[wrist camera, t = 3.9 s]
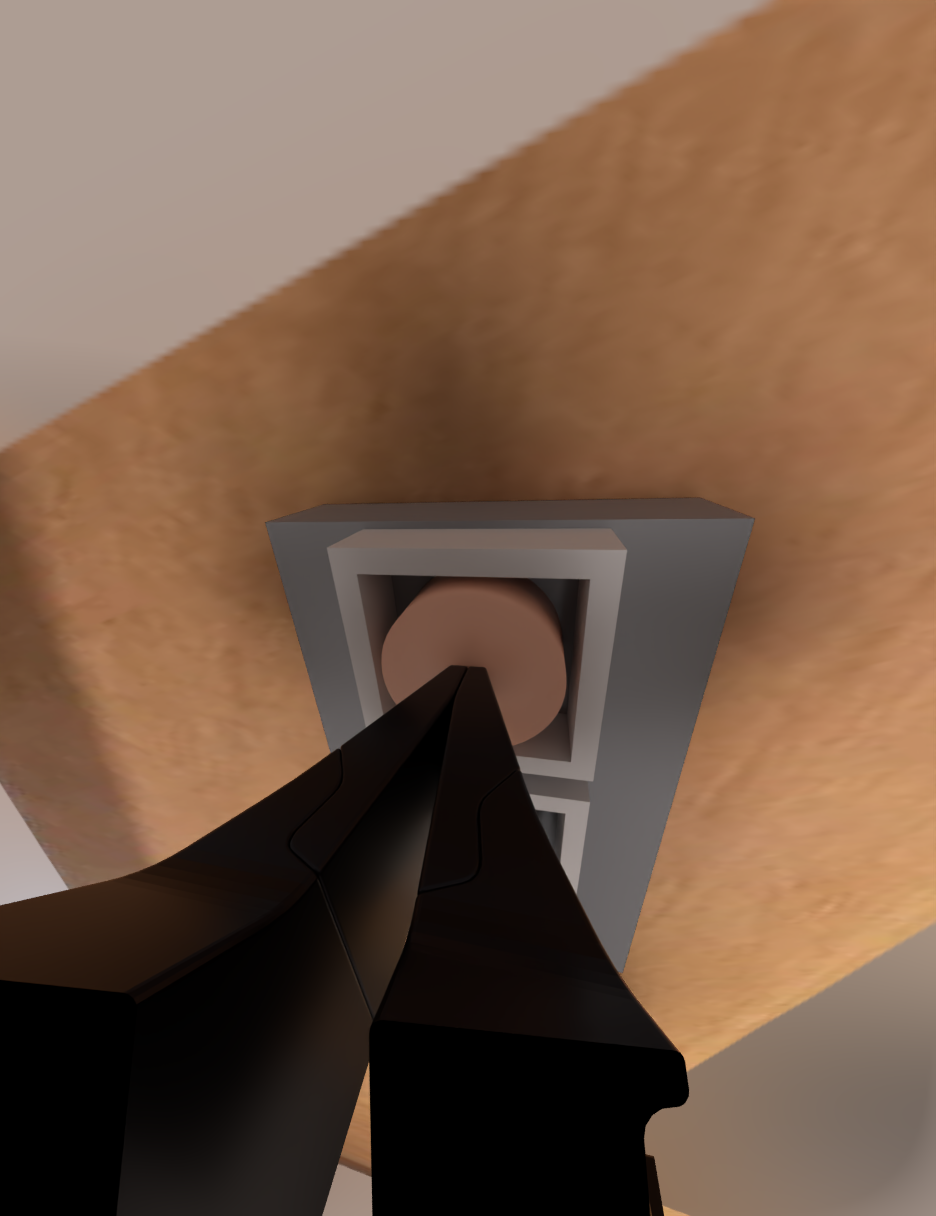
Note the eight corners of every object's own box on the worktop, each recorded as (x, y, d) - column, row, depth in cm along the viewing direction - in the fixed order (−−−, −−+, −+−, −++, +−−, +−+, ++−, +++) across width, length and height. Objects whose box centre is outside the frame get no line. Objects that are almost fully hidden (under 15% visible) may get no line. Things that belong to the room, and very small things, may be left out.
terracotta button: (557, 705, 11) (560, 758, 9) (417, 692, 12) (394, 739, 10) (567, 565, 9) (574, 596, 7) (399, 562, 10) (367, 590, 8)
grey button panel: (611, 897, 19) (631, 1030, 15) (398, 859, 21) (362, 965, 17) (700, 497, 10) (811, 539, 6) (324, 504, 13) (211, 538, 8)
